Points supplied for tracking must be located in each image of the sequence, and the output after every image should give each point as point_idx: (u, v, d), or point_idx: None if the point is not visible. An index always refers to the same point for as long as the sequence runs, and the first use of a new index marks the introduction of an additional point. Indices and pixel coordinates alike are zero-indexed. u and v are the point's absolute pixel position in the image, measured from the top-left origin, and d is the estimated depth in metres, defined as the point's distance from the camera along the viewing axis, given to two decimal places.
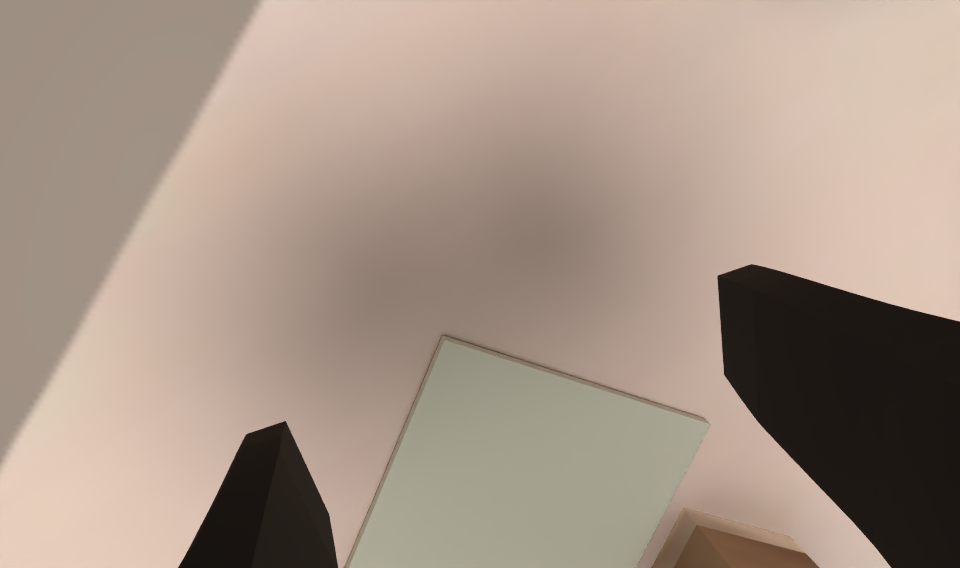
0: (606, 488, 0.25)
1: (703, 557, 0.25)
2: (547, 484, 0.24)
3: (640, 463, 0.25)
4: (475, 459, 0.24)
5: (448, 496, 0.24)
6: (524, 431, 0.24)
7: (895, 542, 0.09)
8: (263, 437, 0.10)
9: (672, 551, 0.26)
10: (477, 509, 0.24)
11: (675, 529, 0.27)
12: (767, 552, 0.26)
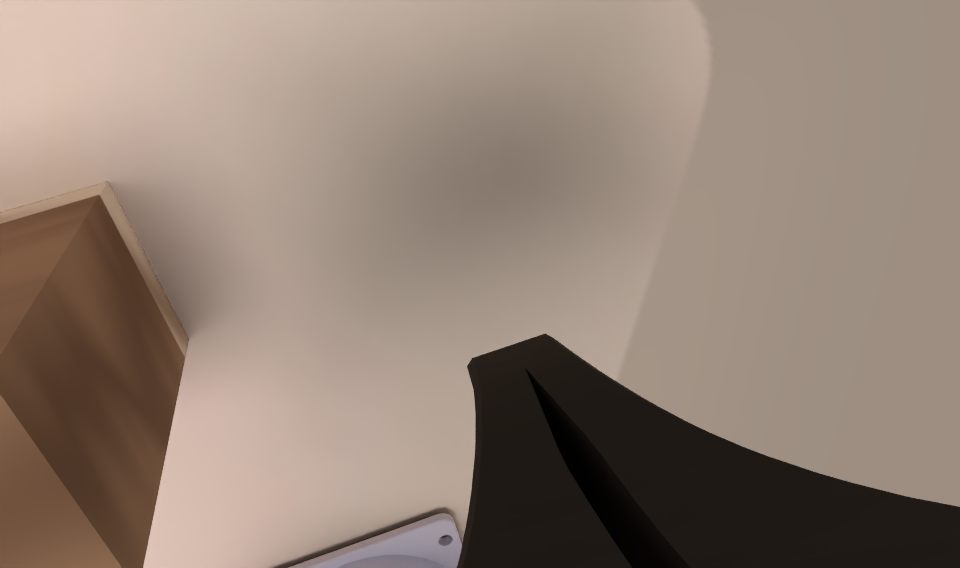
0: None
1: None
2: None
3: None
4: None
5: None
6: None
7: None
8: (497, 359, 0.11)
9: None
10: None
11: None
12: None
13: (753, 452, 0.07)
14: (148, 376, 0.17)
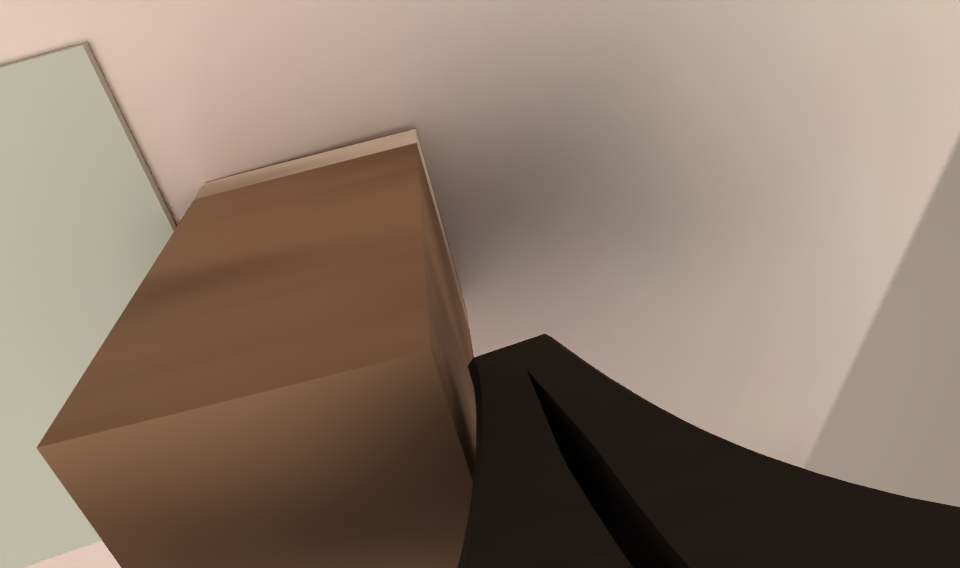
0: (38, 230, 0.16)
1: None
2: None
3: (45, 168, 0.15)
4: None
5: None
6: None
7: None
8: (497, 358, 0.11)
9: None
10: None
11: None
12: (310, 179, 0.15)
13: (753, 453, 0.07)
14: (466, 351, 0.15)
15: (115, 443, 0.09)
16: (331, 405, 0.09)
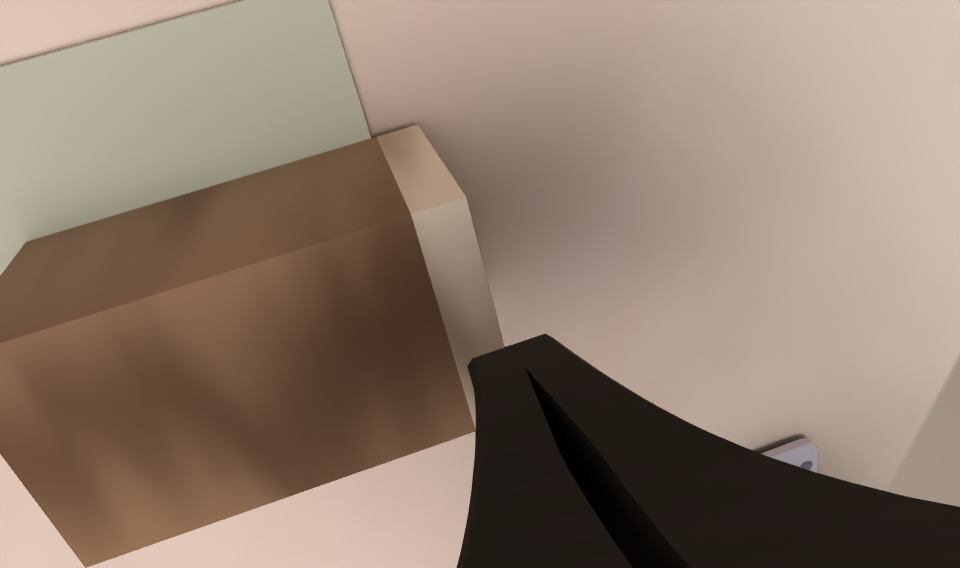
0: (259, 164, 0.16)
1: None
2: None
3: (272, 101, 0.16)
4: None
5: None
6: (66, 163, 0.15)
7: None
8: (497, 359, 0.11)
9: None
10: None
11: None
12: (360, 182, 0.14)
13: (753, 452, 0.07)
14: (318, 427, 0.14)
15: None
16: None
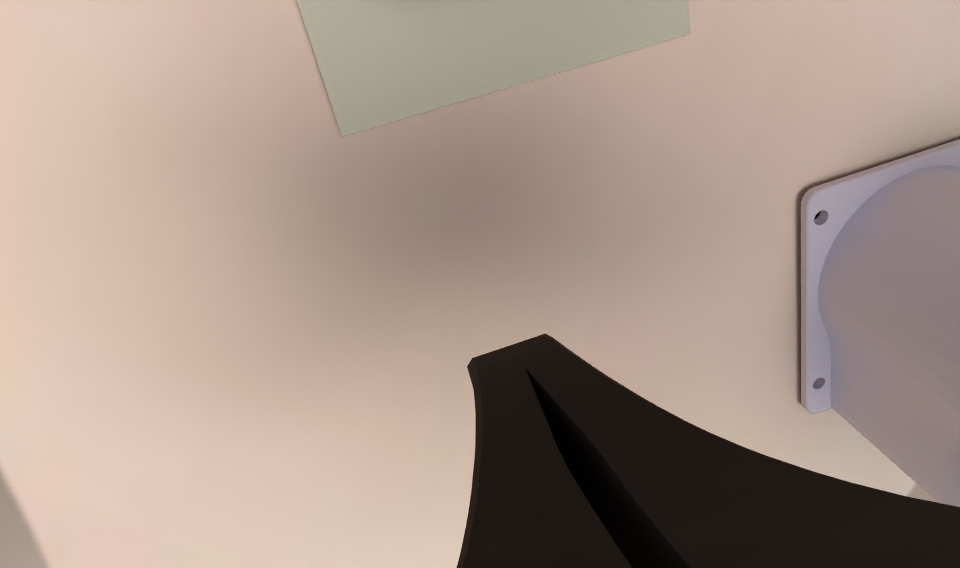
0: None
1: None
2: None
3: None
4: None
5: None
6: None
7: None
8: (497, 358, 0.11)
9: None
10: None
11: None
12: None
13: (752, 452, 0.07)
14: None
15: None
16: None
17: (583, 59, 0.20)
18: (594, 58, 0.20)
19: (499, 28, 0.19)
